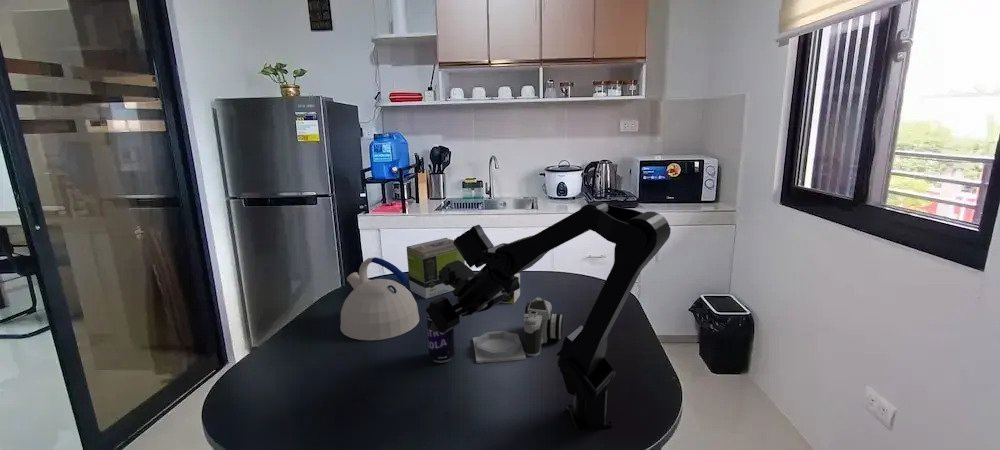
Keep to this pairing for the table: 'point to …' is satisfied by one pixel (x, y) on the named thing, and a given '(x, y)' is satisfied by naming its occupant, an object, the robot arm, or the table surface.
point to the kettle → (378, 305)
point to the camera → (540, 325)
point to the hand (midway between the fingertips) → (446, 321)
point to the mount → (498, 347)
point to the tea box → (430, 266)
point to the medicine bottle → (511, 294)
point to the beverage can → (440, 344)
